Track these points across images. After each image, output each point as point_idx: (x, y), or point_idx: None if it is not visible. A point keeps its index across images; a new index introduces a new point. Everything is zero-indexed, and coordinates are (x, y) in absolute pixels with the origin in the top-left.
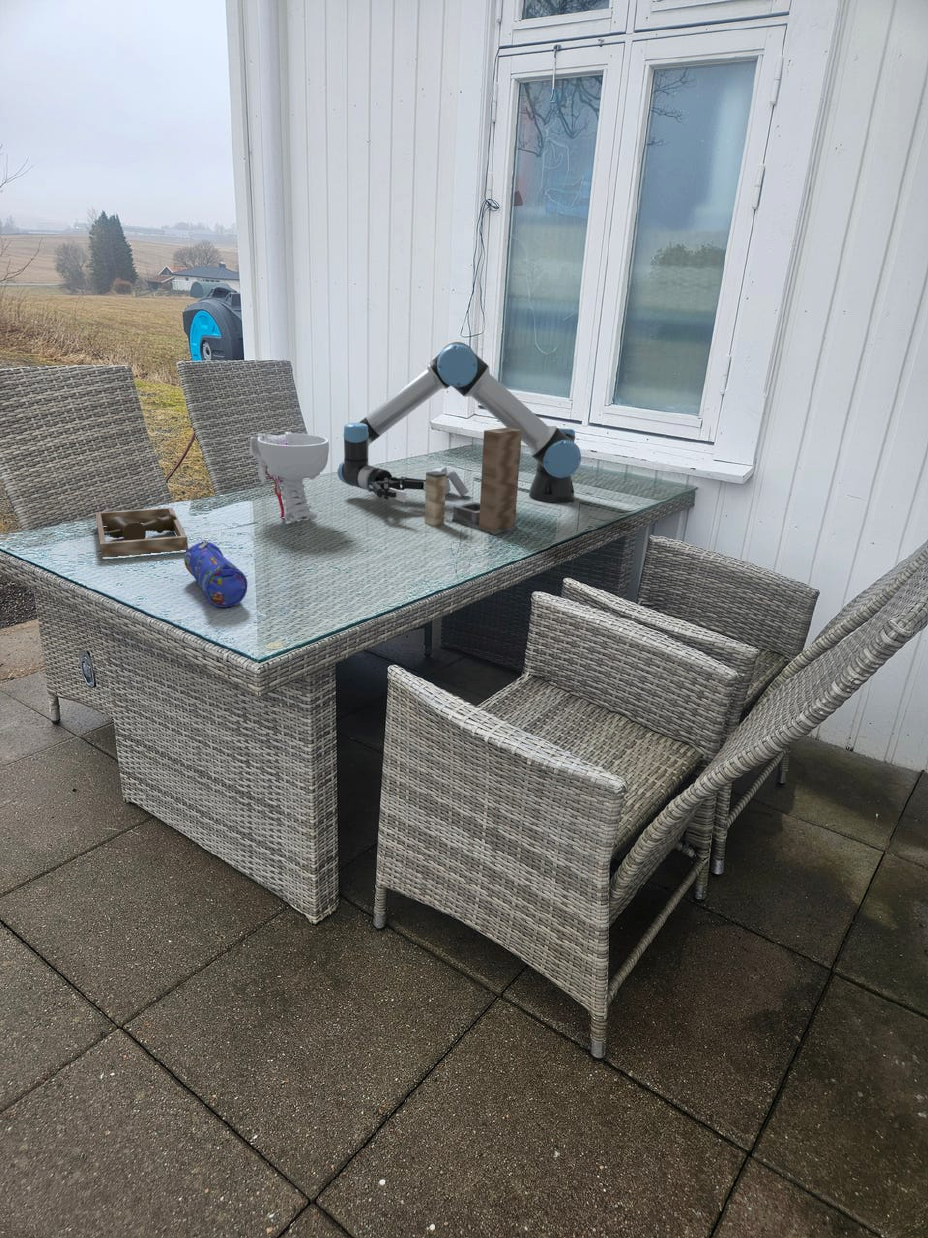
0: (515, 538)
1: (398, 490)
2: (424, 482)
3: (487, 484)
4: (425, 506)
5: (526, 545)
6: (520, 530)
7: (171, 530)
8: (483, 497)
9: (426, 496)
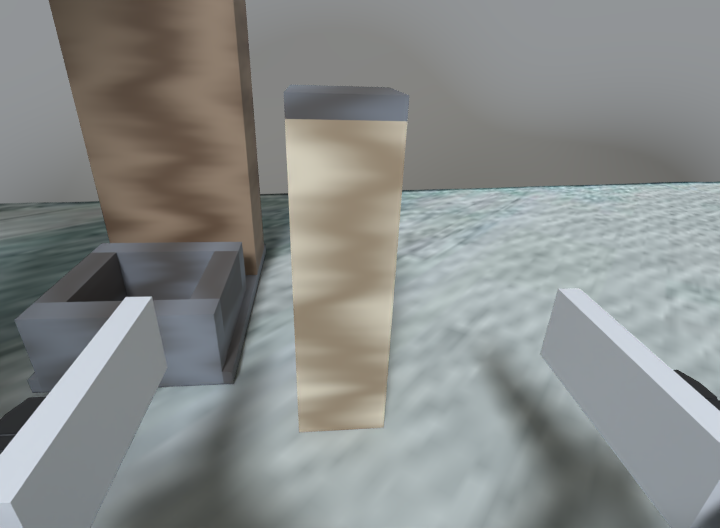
0: None
1: (624, 340)
2: (22, 487)
3: (246, 91)
4: (389, 341)
5: (280, 208)
6: None
7: None
8: (249, 153)
9: (393, 276)
